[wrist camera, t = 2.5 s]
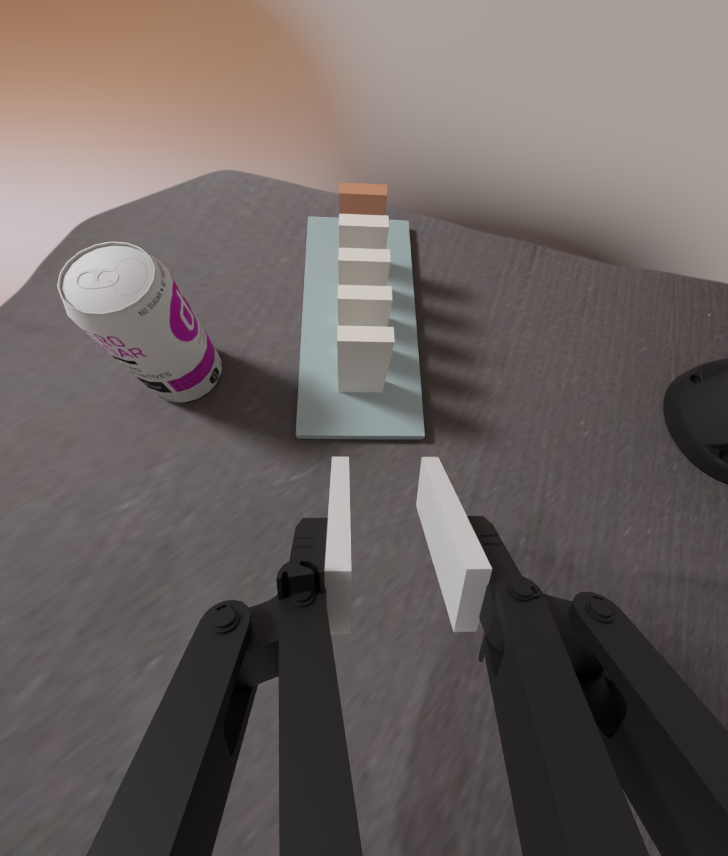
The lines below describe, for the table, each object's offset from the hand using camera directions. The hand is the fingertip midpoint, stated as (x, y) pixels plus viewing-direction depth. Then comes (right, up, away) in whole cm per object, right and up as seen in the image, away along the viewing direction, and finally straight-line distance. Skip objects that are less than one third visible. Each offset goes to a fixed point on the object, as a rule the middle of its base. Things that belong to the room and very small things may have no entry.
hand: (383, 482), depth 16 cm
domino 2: (-2, +20, +29) cm, 35 cm away
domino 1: (-2, +24, +30) cm, 39 cm away
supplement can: (-21, +9, +25) cm, 34 cm away
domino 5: (-1, +7, +24) cm, 25 cm away
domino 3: (-1, +16, +27) cm, 31 cm away
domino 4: (-1, +12, +25) cm, 28 cm away
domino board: (-2, +16, +28) cm, 33 cm away
